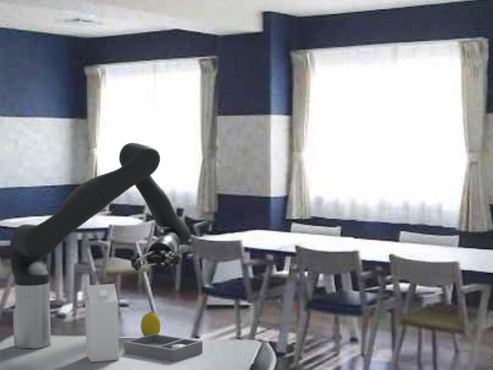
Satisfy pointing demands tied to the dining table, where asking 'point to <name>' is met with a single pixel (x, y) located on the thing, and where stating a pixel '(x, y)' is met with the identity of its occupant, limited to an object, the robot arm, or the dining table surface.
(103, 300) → the milk carton
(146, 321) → the lemon
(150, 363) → the dining table surface
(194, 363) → the dining table surface
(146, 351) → the grey divided tray
